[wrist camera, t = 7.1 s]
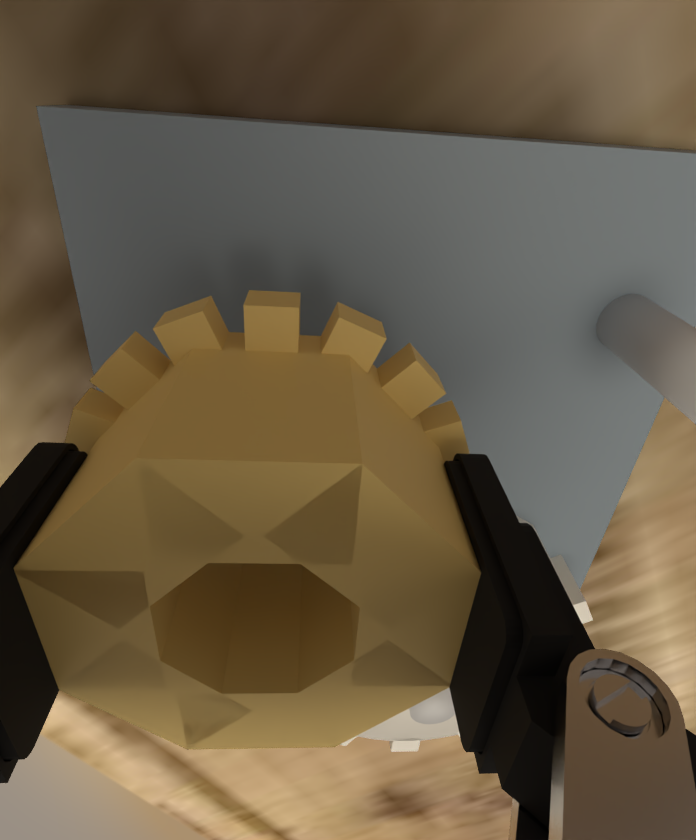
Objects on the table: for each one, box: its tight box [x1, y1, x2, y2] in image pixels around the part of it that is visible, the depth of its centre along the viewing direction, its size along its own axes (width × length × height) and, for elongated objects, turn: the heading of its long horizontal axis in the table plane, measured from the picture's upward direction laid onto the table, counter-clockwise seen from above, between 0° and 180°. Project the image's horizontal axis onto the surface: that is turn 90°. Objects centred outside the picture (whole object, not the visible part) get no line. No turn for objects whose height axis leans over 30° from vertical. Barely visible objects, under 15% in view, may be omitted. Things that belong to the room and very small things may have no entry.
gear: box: [14, 290, 481, 749], centre depth 10 cm, size 8×8×4 cm
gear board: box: [36, 105, 696, 752], centre depth 16 cm, size 22×16×6 cm
